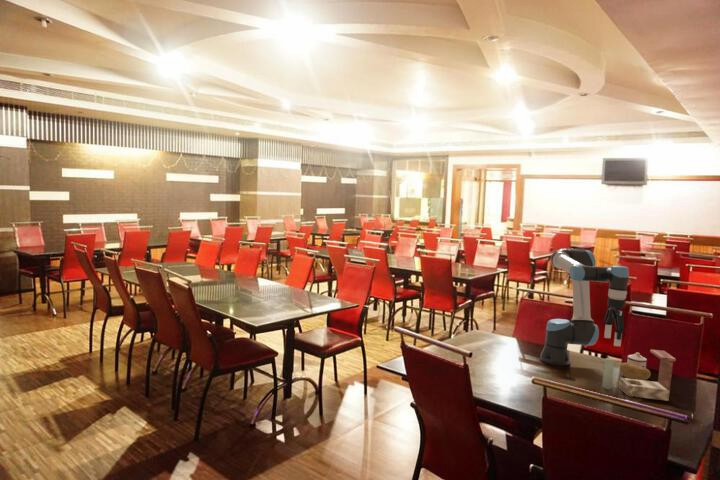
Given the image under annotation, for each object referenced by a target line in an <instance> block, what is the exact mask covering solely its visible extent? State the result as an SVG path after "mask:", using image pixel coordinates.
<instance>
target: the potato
mask: <svg viewBox="0 0 720 480" xmlns="http://www.w3.org/2000/svg"><path fill="white" fill-rule="evenodd" d="M619 370H620V373H621V375H623V376H624V378H628V379H637V380H645V381H647V380H648V379H650V377H651V375H652V374H651V373H652V372H651V371H650V370H649V369H648V368H647V367H646V368H644V367H640V366H637V365H634V364H630V363H627V362H622V363H620V365H619Z"/></svg>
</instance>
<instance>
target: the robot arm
mask: <svg viewBox="0 0 720 480" xmlns="http://www.w3.org/2000/svg"><path fill="white" fill-rule="evenodd" d="M596 262H597V261H596V257H595V254H594V253H593V252H592V250H588V249H583V248H582V249H580V248H577V249H575V248H560V249H556V250H555V251H554V252H552V254H551V256H550V263H551V265H552V266H554V267H555V268H556V269H558V270H563V271H564V272H566V273H568V274H569V277H570V279H571V280H572V301H573V303H572V304H573V305H572V307H573V317H572V318H571V319H570V320H569V319H565V318H564V319H563V318H553V319H549V320H548V321H547V323H546V327H545V339H544V341H545V342H544V346H543V349H542V351H541V353H540V357H539V359H540V361H542V362H544V363H546V364H549V365H554V366H562V367H563V366H568V365H570V355H569V351H568V346H569V345H576V346H577V345H578V346H580V345H581V346H594V345H595V344H597V342H598V339H599V335H600V329H599V326H598V324H595V321H594V319H592V316H591V299H590V297H591V295H590V282H595V283H596V282H598V283H608V285H609V286H608V293H607V296H608V297H607V303H606V304H607V311H606V313H605V316H604V320H603V322H604V324H605V326H604V334H603V335H604V336H603V338H605V339H611V336H612V326H613V321H614V327H615V330H614V339H613V346H614V347H621V344H622V338H623V337H622V336H623V333H625V319H624V318H625V317H624V313H625V312H624V310H622V309H623V308H624V309H625V307H626V303H627V302H626V299H627V295H628V291H627V290H628V282H629V277H630V274H629V273H630V272H629V269H630V268H629V267H628V266H624V265H612V266H606V265H605V266H596Z"/></svg>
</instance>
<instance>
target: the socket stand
mask: <svg viewBox="0 0 720 480" xmlns="http://www.w3.org/2000/svg"><path fill="white" fill-rule="evenodd" d="M649 352H650V353H651V354H652V355H654V356H655V357H656V358H658V359H659V367H658V368H659V369H658V376H657V381H651V380H637V379H628V378H626V377H619V382H618V388H619V390H620V389H621V390H620V391H621V392H622V391H623V392H624V393H625V394H626V395H628V396H627V397H633V396H635V397H634V398H644V399H650V400H660V401H665V402H667V401H668V402H669V399H670V398H669V397H670V392H671V382H672V374H673V367H674V362H676V361H677V360H676V358H675V357H674V356H672V355H671V354H670V353H668V352H667V351H665V350H659V349H650V350H649ZM623 392H622V393H623ZM624 393H623V394H624ZM625 394H624V395H625ZM626 395H625V396H626Z"/></svg>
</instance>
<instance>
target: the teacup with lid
mask: <svg viewBox="0 0 720 480" xmlns="http://www.w3.org/2000/svg"><path fill="white" fill-rule="evenodd" d="M626 358H627V362H626V363H630V364H634V365H637V366H640V367H644V368H646V369H647V362H648V359H647V358H646V357H644V356H642V355H641V353H640V352H635V353H633V354H628V355H627V357H626Z"/></svg>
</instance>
